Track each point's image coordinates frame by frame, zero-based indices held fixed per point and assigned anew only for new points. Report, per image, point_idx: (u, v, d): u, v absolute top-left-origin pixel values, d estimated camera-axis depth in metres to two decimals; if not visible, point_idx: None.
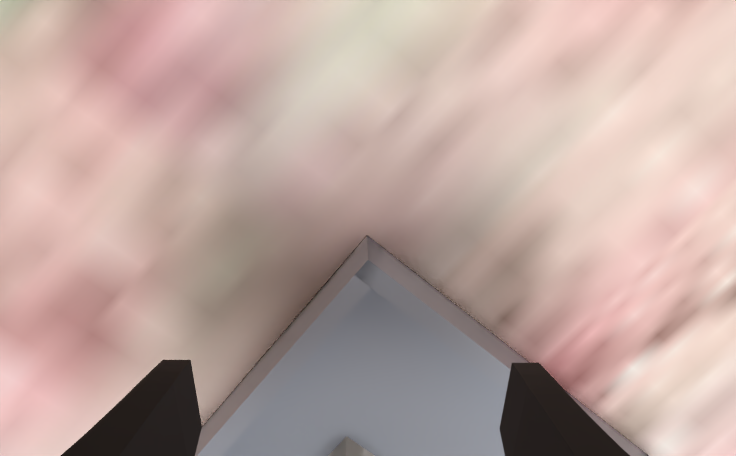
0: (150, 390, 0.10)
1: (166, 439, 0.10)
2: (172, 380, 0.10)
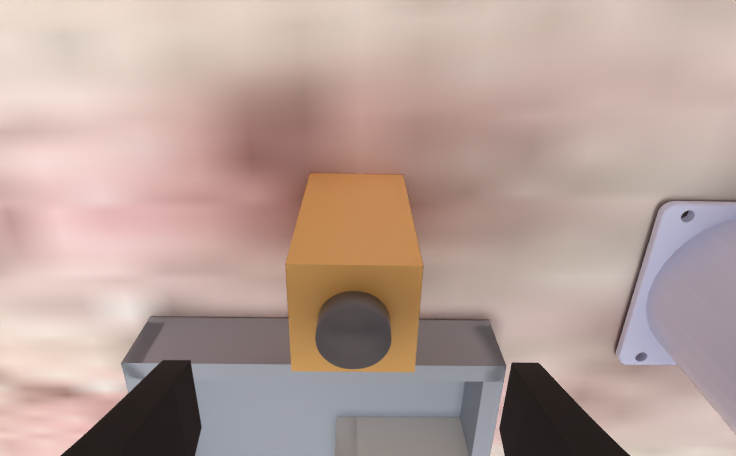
0: (150, 390, 0.10)
1: (166, 439, 0.10)
2: (172, 380, 0.10)
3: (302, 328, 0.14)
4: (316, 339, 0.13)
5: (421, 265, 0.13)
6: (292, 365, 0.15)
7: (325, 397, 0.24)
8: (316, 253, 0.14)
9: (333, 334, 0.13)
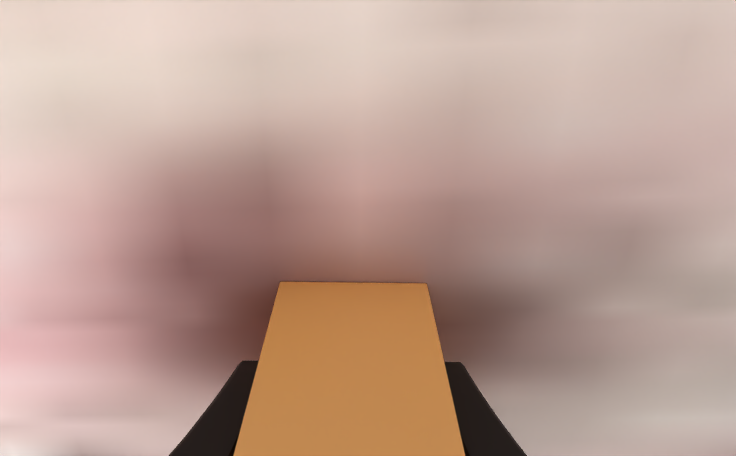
0: (240, 390, 0.10)
1: None
2: None
3: None
4: None
5: None
6: None
7: None
8: None
9: None
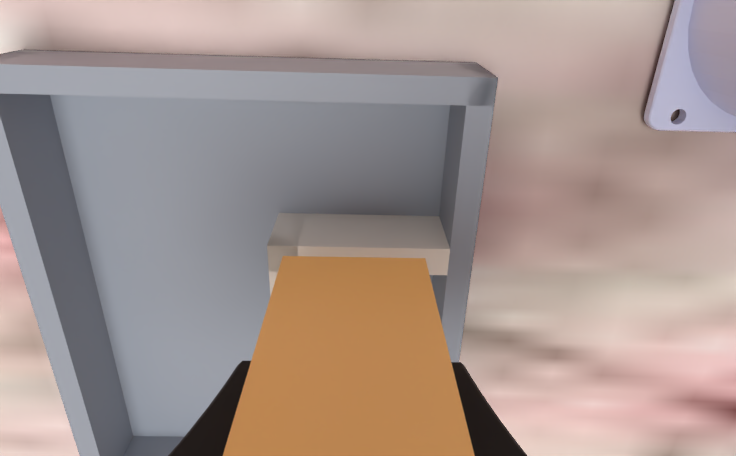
0: (240, 390, 0.10)
1: None
2: None
3: None
4: None
5: None
6: None
7: (262, 181, 0.18)
8: None
9: None
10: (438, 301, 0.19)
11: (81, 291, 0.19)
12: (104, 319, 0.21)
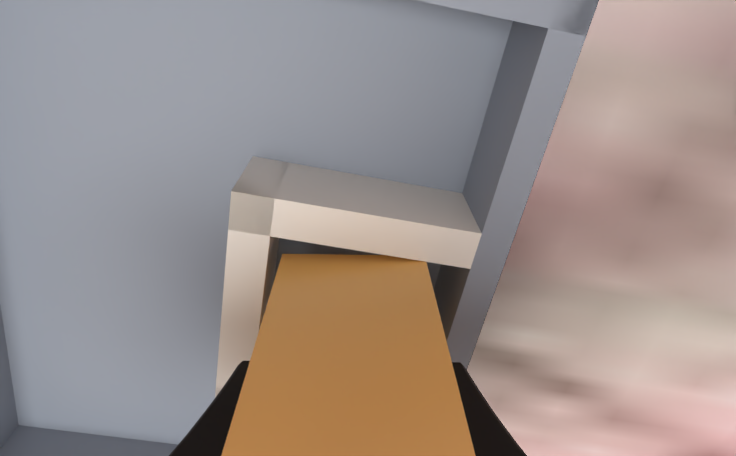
0: (240, 390, 0.10)
1: None
2: None
3: None
4: None
5: None
6: None
7: (237, 108, 0.13)
8: None
9: None
10: (446, 303, 0.14)
11: None
12: None
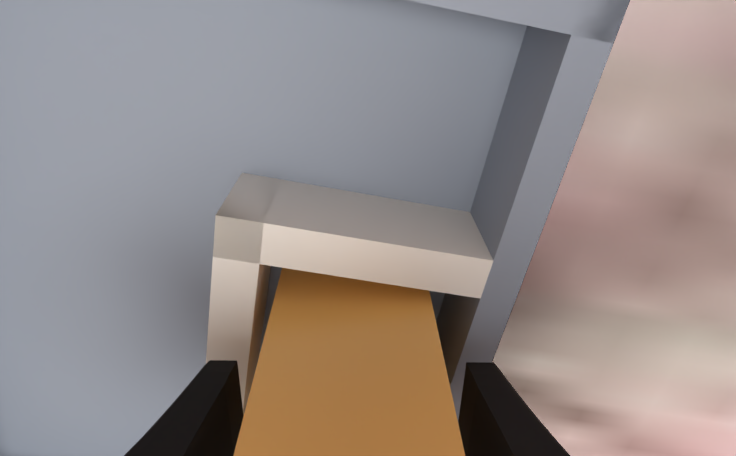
0: (203, 390, 0.10)
1: (218, 439, 0.10)
2: (223, 380, 0.10)
3: None
4: None
5: None
6: None
7: (224, 120, 0.12)
8: (283, 446, 0.08)
9: None
10: (453, 332, 0.13)
11: None
12: None
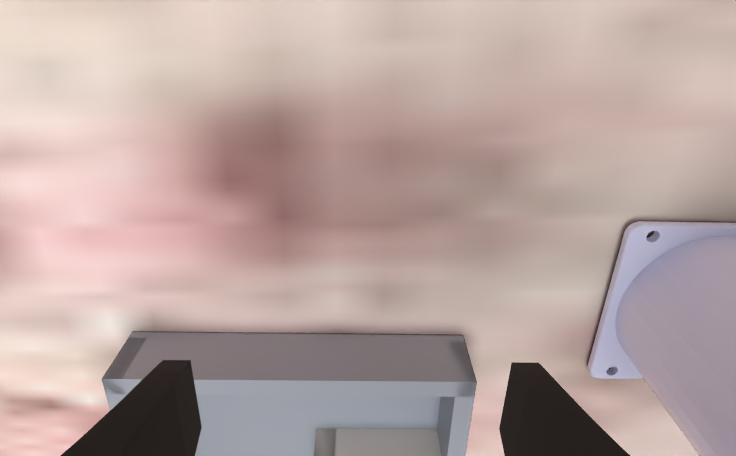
0: (150, 390, 0.10)
1: (166, 439, 0.10)
2: (172, 380, 0.10)
3: None
4: None
5: None
6: None
7: (304, 409, 0.24)
8: None
9: None
10: None
11: None
12: None
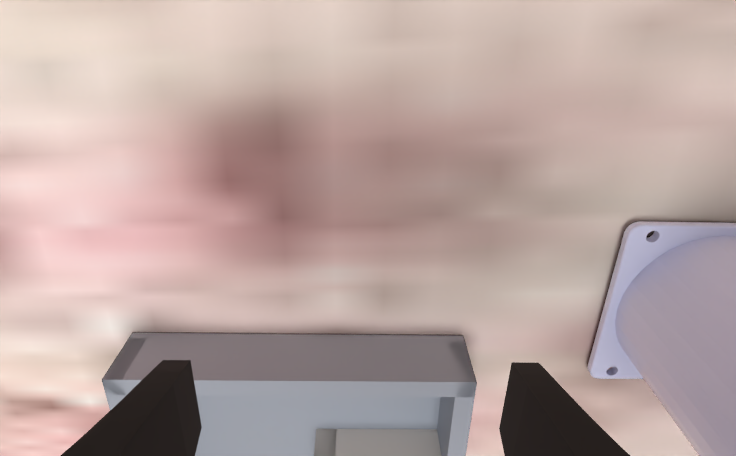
0: (150, 390, 0.10)
1: (166, 439, 0.10)
2: (172, 380, 0.10)
3: None
4: None
5: None
6: None
7: (304, 410, 0.24)
8: None
9: None
10: None
11: None
12: None
